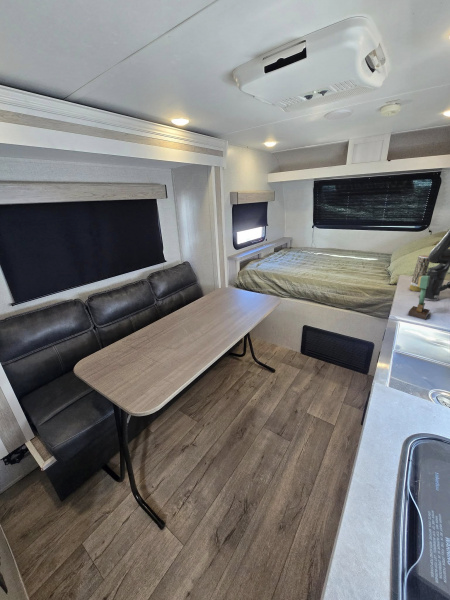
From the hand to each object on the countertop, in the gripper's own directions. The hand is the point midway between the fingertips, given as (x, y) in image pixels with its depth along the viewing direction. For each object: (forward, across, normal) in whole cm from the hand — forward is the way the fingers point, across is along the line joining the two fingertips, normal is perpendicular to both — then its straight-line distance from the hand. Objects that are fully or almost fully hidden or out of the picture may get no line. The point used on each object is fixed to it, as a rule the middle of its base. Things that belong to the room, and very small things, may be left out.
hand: (438, 289), depth 130 cm
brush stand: (+16, 0, +8) cm, 18 cm away
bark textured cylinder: (+24, -45, 0) cm, 51 cm away
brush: (+12, 0, +5) cm, 13 cm away
